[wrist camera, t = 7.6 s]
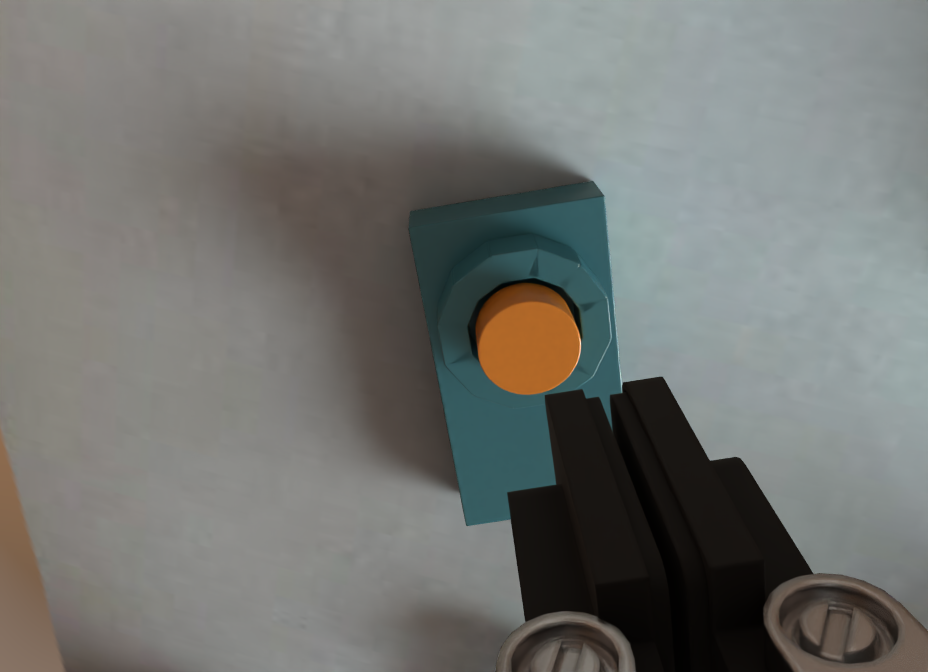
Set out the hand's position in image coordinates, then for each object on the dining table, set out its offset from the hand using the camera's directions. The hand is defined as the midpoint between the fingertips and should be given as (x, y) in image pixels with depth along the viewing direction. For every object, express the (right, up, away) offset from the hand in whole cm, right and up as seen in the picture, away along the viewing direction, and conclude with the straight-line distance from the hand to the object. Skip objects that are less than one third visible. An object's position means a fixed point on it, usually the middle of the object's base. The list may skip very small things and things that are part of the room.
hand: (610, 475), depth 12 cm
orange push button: (0, +2, +22) cm, 22 cm away
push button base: (+1, +1, +27) cm, 27 cm away
